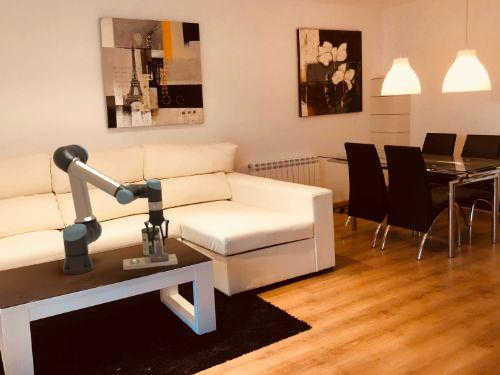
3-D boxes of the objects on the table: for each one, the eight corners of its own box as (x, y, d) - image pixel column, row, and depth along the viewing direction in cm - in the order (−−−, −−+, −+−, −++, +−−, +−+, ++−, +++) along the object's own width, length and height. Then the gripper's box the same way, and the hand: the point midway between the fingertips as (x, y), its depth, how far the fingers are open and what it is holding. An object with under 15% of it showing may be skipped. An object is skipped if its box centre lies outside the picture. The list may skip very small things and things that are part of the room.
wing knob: (149, 257, 277) (148, 242, 276) (168, 255, 280) (167, 240, 278) (150, 262, 268) (149, 247, 266) (169, 260, 270) (168, 245, 269)
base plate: (123, 270, 264) (122, 264, 263) (123, 263, 275) (123, 257, 275) (177, 264, 270) (177, 258, 270) (175, 257, 282) (175, 251, 281)
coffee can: (163, 250, 296) (162, 226, 294) (157, 255, 287) (155, 231, 284) (147, 250, 299) (145, 226, 296) (140, 255, 289) (138, 231, 286)
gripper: (140, 211, 264) (143, 255, 268) (171, 209, 267) (174, 252, 271) (140, 209, 271) (143, 251, 275) (170, 206, 274) (173, 248, 278)
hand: (158, 251), depth 273 cm, fingers closed on wing knob, 3 cm apart
